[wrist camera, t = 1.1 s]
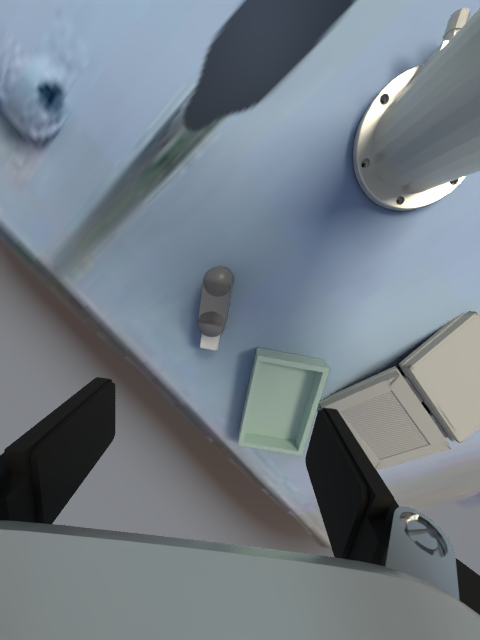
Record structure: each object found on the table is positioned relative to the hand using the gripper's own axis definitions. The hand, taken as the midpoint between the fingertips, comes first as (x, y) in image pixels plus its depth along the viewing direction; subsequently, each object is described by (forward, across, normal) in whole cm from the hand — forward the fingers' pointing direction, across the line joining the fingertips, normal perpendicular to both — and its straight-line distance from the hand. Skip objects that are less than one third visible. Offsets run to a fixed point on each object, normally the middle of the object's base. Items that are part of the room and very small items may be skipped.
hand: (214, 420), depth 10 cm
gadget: (+21, -27, +8) cm, 35 cm away
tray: (+20, -8, +11) cm, 25 cm away
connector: (+20, +2, -1) cm, 20 cm away
